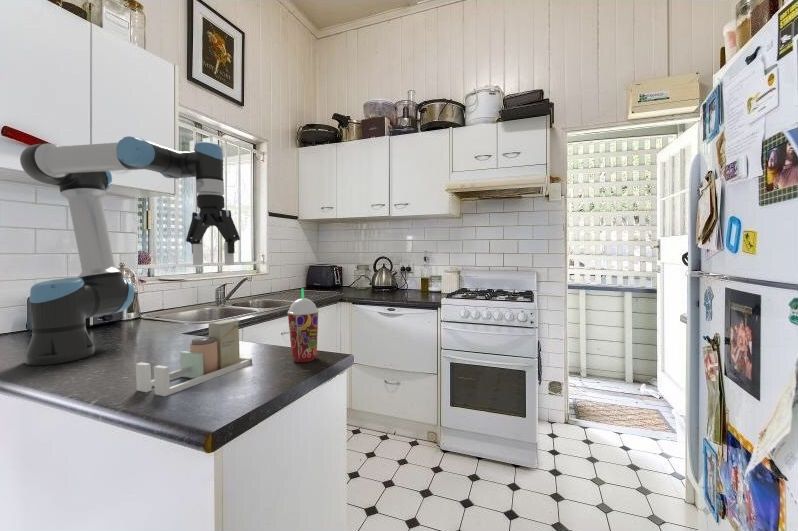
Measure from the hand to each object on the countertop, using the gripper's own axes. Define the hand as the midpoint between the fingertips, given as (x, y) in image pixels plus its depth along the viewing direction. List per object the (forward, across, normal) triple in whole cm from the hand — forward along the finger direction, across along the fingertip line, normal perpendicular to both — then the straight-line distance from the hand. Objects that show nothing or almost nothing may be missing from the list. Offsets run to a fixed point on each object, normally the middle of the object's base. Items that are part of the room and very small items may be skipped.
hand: (213, 264), depth 113 cm
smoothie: (+27, +32, +2) cm, 42 cm away
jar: (+27, +16, -17) cm, 35 cm away
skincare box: (+27, +16, -11) cm, 33 cm away
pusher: (+26, +16, -24) cm, 39 cm away
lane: (+27, +16, -18) cm, 36 cm away
